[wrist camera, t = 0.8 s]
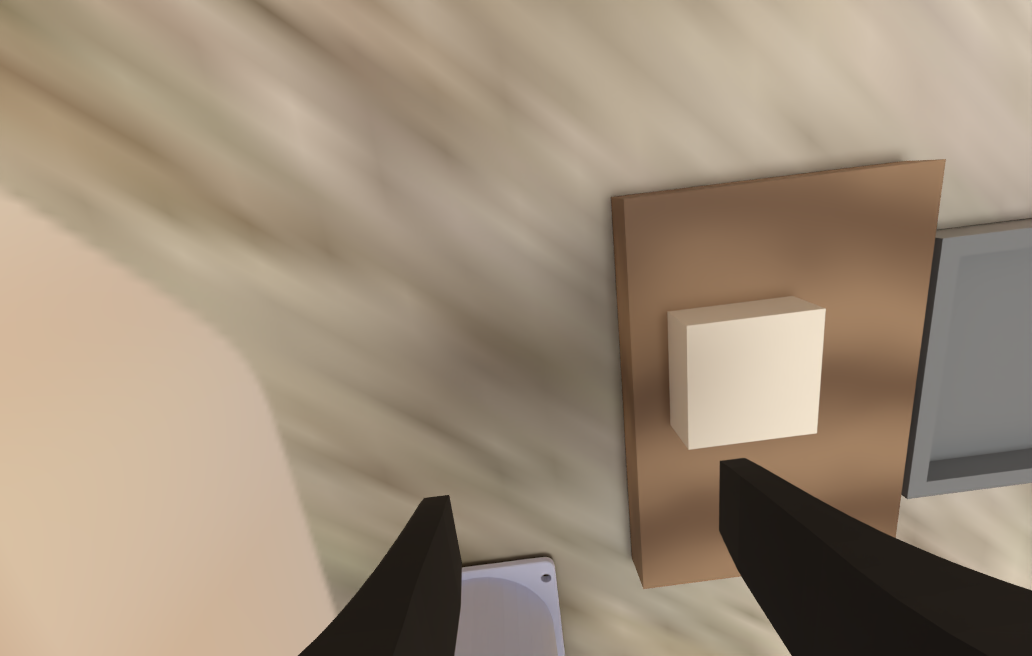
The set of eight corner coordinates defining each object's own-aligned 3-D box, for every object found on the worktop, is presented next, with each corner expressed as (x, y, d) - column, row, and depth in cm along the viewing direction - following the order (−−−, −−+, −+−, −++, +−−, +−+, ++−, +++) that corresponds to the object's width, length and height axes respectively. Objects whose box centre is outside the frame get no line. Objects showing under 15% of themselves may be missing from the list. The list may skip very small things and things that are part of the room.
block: (786, 409, 21) (816, 433, 19) (670, 424, 21) (688, 449, 19) (792, 295, 19) (825, 308, 17) (667, 311, 19) (686, 326, 17)
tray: (1094, 448, 24) (1140, 468, 23) (877, 476, 24) (907, 498, 23) (1158, 202, 21) (1218, 204, 19) (905, 233, 21) (942, 238, 19)
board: (862, 527, 25) (893, 556, 23) (632, 557, 25) (643, 588, 23) (902, 161, 20) (945, 159, 18) (611, 197, 20) (623, 198, 18)
